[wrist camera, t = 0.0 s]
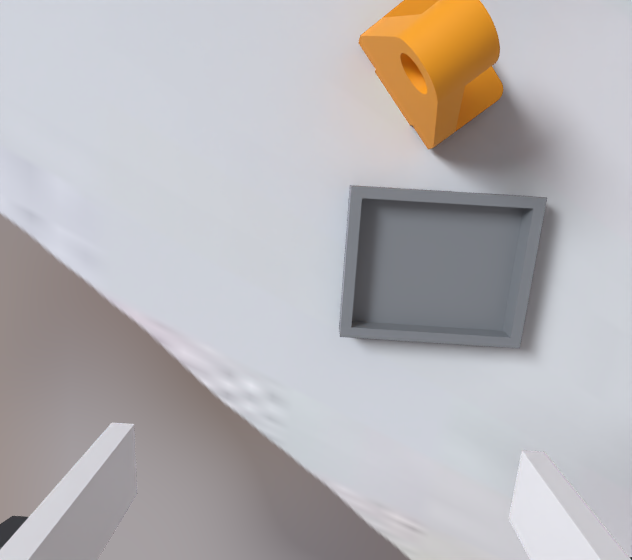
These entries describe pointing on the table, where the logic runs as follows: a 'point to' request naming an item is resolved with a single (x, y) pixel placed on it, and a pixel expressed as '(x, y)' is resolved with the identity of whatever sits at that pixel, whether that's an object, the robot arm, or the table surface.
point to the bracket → (436, 63)
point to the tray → (439, 265)
